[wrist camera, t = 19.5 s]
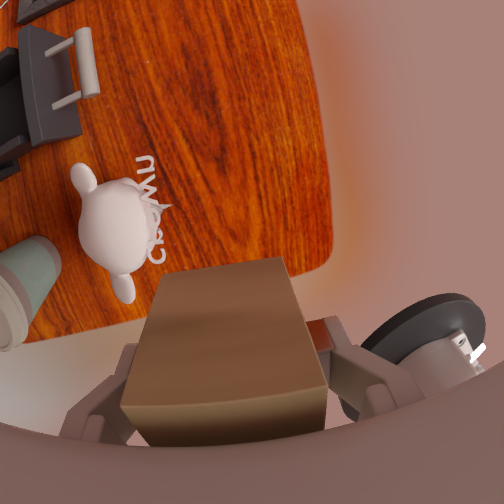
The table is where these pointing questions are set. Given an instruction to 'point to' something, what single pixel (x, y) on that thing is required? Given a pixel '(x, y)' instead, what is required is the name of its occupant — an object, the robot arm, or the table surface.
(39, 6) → the picture frame
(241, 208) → the table surface
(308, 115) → the table surface
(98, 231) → the figurine
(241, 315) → the block
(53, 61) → the open drawer with handle
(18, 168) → the dark grey box
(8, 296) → the coffee cup
